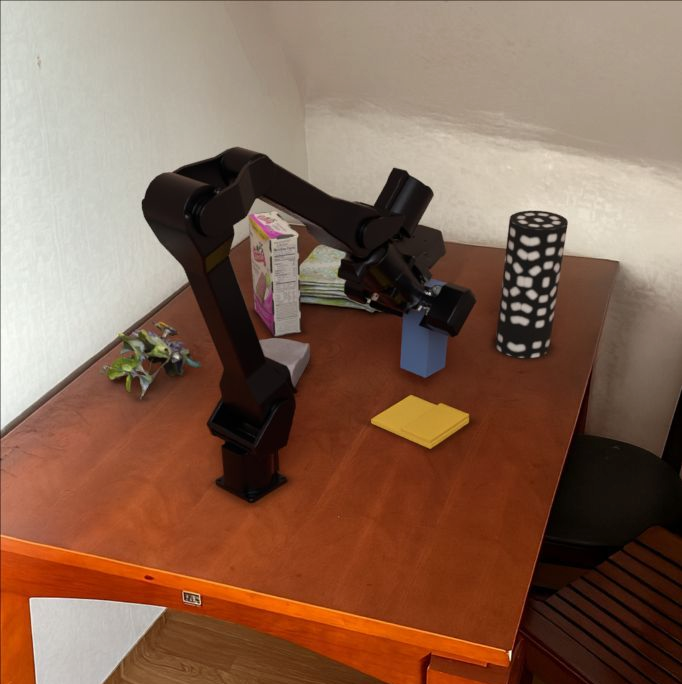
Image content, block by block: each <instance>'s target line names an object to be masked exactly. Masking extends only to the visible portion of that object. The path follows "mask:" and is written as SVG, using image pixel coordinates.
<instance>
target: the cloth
mask: <svg viewBox="0 0 682 684" xmlns="http://www.w3.org/2000/svg"><path fill="white" fill-rule="evenodd" d="M469 423H470V414H469V413H466V412H464V411H463V410H459V409H457V408H456V407H455V408H454V407H452V406H449V405H447V404H445V403H442V402H439V403H438V404H435V403H432V402H430V401H427V400H425V399H423V398H421V397H418V396H416V395H413V394H410V395H408V396H406V397H405V398H403V399H401V400H400V401H399V402H397V403H395V404H393V405H392V406H390V407H389V408H387V409H385V410H384V411H382V412H380V413H379V414H377V415H376V416H374V417H372V418H371V419H370V424H371V425H375V426H377V427H379V428H381V429H384V430H386V431H388V432H390V433H392V434H395V435H397V436H400V437H401V438H404V439H406V440H409V441H410V442H413V443H416V444H418V445H420V446H423V447H425V448H427V449H429V450H431V449H432V448H434V447H435V446H437V445H439V444H440V443H441V442H443V441H444V440H446V439H447V438H449V437H451V435H453V434H454V433H456V432H458V431H459V430H460V429H462V428H463V427H465V426H466V425H468V424H469Z"/></svg>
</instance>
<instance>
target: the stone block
mask: <svg viewBox="0 0 682 684" xmlns="http://www.w3.org/2000/svg"><path fill="white" fill-rule="evenodd" d="M259 342H260V344H261V347H262V350H263V353H264V356H266V357H268V358H270V359H273V360H275V361H277V362H279V363H281V364H284V365H286V366H287V367H288V369H289V371H290V373H291V380H292V384H293V386H294V388H296V386H297V385H298V383H299V380H300V379H301V377H302V375H303V373H304V371H305V370H306V369H307V366H308V364H309V362H310V359H311V351H310V350H311V349H310V347H311V346H310V343H308V342H306V343H304V342H301V341H297V340H292V339H289V338H277V337H271V338H267V339H259Z"/></svg>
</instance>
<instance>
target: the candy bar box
mask: <svg viewBox="0 0 682 684" xmlns="http://www.w3.org/2000/svg"><path fill="white" fill-rule="evenodd" d="M247 217H248V229H249V230H248V231H249V245H250V246H249V247H250V259H251V277H252V292H253V295H252V296H253V309H254V311H255V312H256V314H257V315H258V316H259V318H260V320H262V322H263V323H264V325H265V326H266V327H267V328H268V330H269V331H270V332H271V334H272V335H273V337H283V336H288V335H293V334H300V333H302V311H301V310H302V308H301V305H302V303H301V301H300V265H301V263H300V234H299V233H298V232H297V231H296V230H295V229H294V228H293V227H292V226H291V225H290V224H289V223H288V222H287V221H286V220H285V219H284V218H283V216H281V214H280V213H279V212H278V211H276V210H275V211H273V210H272V211H264V212H258V213H257V212H254V213H251V214H248V215H247Z"/></svg>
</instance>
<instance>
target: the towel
mask: <svg viewBox="0 0 682 684" xmlns="http://www.w3.org/2000/svg"><path fill="white" fill-rule="evenodd" d="M344 257H345V252H342V251H339V250H336V249H333V248H330V247H328V246H325V245H322V244H319V245H317V246H316V247H314V249H313V250H312V251H311V252H310V254H309V255H308V256H307V258H305V259H304V260H303V262H301V263H300V301H301V304H312V305H323V306H332V307H333V306H335V307H343V308H344V307H345V308H352V309H359V310H365V311H367V312H369V313H374V312H375V311H377V312H379V313H382V312H381V311H378V310H375V309H373V308H371V307H370V306H369V303H370V301H371V300H370V299H367V298H366V299H367V300H368V301H367V303H366V304H365V305H363V304H361V303H358V302H355V301H353V300H350V299H349V298H348V297H347V296H346V295H345V294H344V283H345V281H346V280H344V279H341V278H338V276H337V274H338V268H339V267H340V265H341V259H342V258H344Z"/></svg>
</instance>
